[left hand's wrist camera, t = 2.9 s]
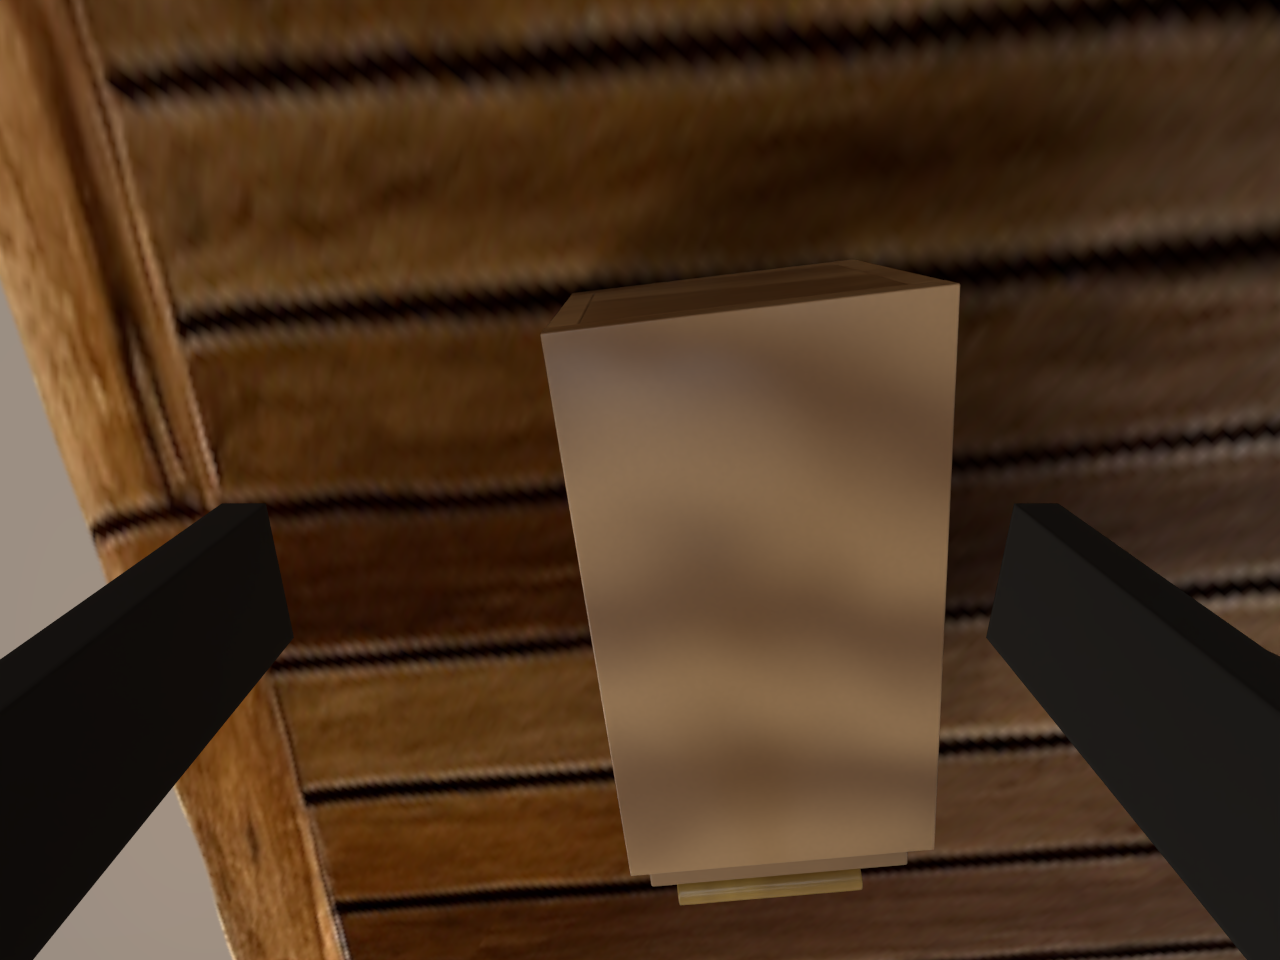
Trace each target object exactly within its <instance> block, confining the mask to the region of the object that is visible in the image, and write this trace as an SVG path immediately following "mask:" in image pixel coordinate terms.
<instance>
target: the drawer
mask: <svg viewBox="0 0 1280 960" xmlns="http://www.w3.org/2000/svg"><path fill="white" fill-rule="evenodd" d="M905 864H907V852H900V853H888V854H877V855H865V856H854V857H842V858H831V859H819V860H808V861H796V862H785V863H774V864H762V865H751V866H739V867H728V868H716V869H705V870H693V871H682V872H670V873H659V874H650V879H651V884H652V886H663V885H675V884H677V888H678V898H679V904H680V905H690V904H702V903H714V902H725V901H737V900H749V899H761V898H772V897H784V896H796V895H807V894H819V893H831V892H843V891H854V890H862V888H863V882H862V875H861V870H860V868H871V867H883V866H894V865H905Z"/></svg>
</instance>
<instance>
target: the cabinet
mask: <svg viewBox="0 0 1280 960" xmlns="http://www.w3.org/2000/svg"><path fill="white" fill-rule="evenodd" d="M959 300H960V284H959V283H955V282H951V281H947V280H940V279H936V278H932V277H927V276H923V275H919V274H914V273H910V272H906V271H901V270H897V269H893V268H889V267H884V266H880V265H876V264H871V263H867V262H863V261H859V260H855V259H850V260H842V261H833V262H825V263H817V264H809V265H800V266H792V267H784V268H776V269H767V270H759V271H751V272H743V273H734V274H726V275H718V276H710V277H701V278H693V279H685V280H677V281H668V282H660V283H652V284H644V285H635V286H627V287H619V288H611V289H602V290H594V291H586V292H578V293H573V294H572V295H571V296H570V298H569V299H568V300H567V301H566V303H565V304H564V305H563V307H562V308H561V309H560V310H559V312H558V313H557V314H556V316H555V317H554V318H553V319H552V321H551V322H550V323H549V324H548V326H547V327H546V328H545V329H544V330H543V331H542V333H541V335H540V336H541V342H542V348H543V354H544V360H545V366H546V372H547V378H548V384H549V390H550V396H551V401H552V407H553V413H554V419H555V425H556V431H557V437H558V443H559V449H560V455H561V461H562V467H563V473H564V479H565V485H566V491H567V497H568V503H569V509H570V515H571V521H572V527H573V533H574V539H575V545H576V551H577V557H578V563H579V569H580V575H581V581H582V587H583V593H584V599H585V605H586V611H587V617H588V623H589V629H590V635H591V641H592V647H593V653H594V659H595V665H596V670H597V676H598V682H599V688H600V694H601V700H602V706H603V712H604V718H605V724H606V730H607V736H608V742H609V748H610V754H611V760H612V766H613V772H614V778H615V784H616V790H617V796H618V802H619V808H620V814H621V820H622V826H623V832H624V838H625V844H626V850H627V856H628V862H629V868H630V874H631V876H636V875H647V874H659V873H670V872H682V871H693V870H705V869H716V868H728V867H739V866H751V865H762V864H774V863H785V862H796V861H808V860H819V859H831V858H842V857H854V856H865V855H877V854H888V853H900V852H911V851H923V850H933V849H934V842H935V820H936V798H937V777H938V755H939V733H940V712H941V690H942V668H943V647H944V625H945V603H946V582H947V560H948V539H949V517H950V495H951V474H952V452H953V430H954V409H955V387H956V365H957V344H958V322H959Z"/></svg>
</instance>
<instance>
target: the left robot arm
mask: <svg viewBox="0 0 1280 960" xmlns="http://www.w3.org/2000/svg"><path fill="white" fill-rule="evenodd" d="M293 638H294V637H293V632H292V627H291V622H290V617H289V613H288V608H287V603H286V598H285V594H284V589H283V584H282V579H281V574H280V570H279V565H278V560H277V555H276V551H275V546H274V541H273V536H272V531H271V527H270V522H269V517H268V512H267V508H266V504H221V505H219V506H218V507H216V508H215V509H213V510H212V511H211V512H209V513H208V514H206V515H205V516H204V517H202V518H201V519H199V520H198V521H196V522H195V523H194V524H192V525H191V526H189V527H188V528H186V529H185V530H184V531H182V532H181V533H179V534H178V535H177V536H175V537H174V538H172V539H171V540H169V541H168V542H167V543H165V544H164V545H162V546H161V547H159V548H158V549H157V550H155V551H154V552H152V553H151V554H150V555H148V556H147V557H145V558H144V559H142V560H141V561H140V562H138V563H137V564H135V565H134V566H132V567H131V568H130V569H128V570H127V571H125V572H124V573H123V574H121V575H120V576H118V577H117V578H115V579H114V580H113V581H111V582H110V583H108V584H107V585H105V586H104V587H103V588H101V589H100V590H98V591H97V592H96V593H94V594H93V595H91V596H90V597H88V598H87V599H86V600H84V601H83V602H81V603H80V604H79V605H77V606H76V607H74V608H73V609H71V610H70V611H69V612H67V613H66V614H64V615H63V616H61V617H60V618H59V619H57V620H56V621H54V622H53V623H52V624H50V625H49V626H47V627H46V628H44V629H43V630H42V631H40V632H39V633H37V634H36V635H34V636H33V637H32V638H30V639H29V640H27V641H26V642H24V643H23V644H22V645H20V646H19V647H17V648H16V649H15V650H13V651H12V652H10V653H9V654H7V655H6V656H5V657H3V658H2V659H0V960H33V959H34V958H35V957H36V955H37V954H38V953H39V952H40V950H41V949H42V948H43V947H44V945H45V944H46V943H47V942H48V941H49V939H50V938H51V937H52V936H53V934H54V933H55V932H56V931H57V929H58V928H59V927H60V926H61V924H62V923H63V922H64V921H65V920H66V918H67V917H68V916H69V915H70V913H71V912H72V911H73V910H74V908H75V907H76V906H77V905H78V903H79V902H80V901H81V900H82V899H83V897H84V896H85V895H86V894H87V892H88V891H89V890H90V889H91V887H92V886H93V885H94V884H95V882H96V881H97V880H98V879H99V877H100V876H101V875H102V874H103V873H104V871H105V870H106V869H107V868H108V866H109V865H110V864H111V863H112V861H113V860H114V859H115V858H116V856H117V855H118V854H119V853H120V852H121V850H122V849H123V848H124V847H125V845H126V844H127V843H128V842H129V840H130V839H131V838H132V837H133V835H134V834H135V833H136V832H137V831H138V829H139V828H140V827H141V826H142V824H143V823H144V822H145V821H146V819H147V818H148V817H149V816H150V814H151V813H152V812H153V811H154V810H155V808H156V807H157V806H158V805H159V803H160V802H161V801H162V800H163V798H164V797H165V796H166V795H167V793H168V792H169V791H170V790H171V789H172V787H173V786H174V785H175V784H176V782H177V781H178V780H179V779H180V777H181V776H182V775H183V774H184V772H185V771H186V770H187V769H188V768H189V766H190V765H191V764H192V763H193V761H194V760H195V759H196V758H197V756H198V755H199V754H200V753H201V751H202V750H203V749H204V748H205V746H206V745H207V744H208V743H209V742H210V740H211V739H212V738H213V737H214V735H215V734H216V733H217V732H218V730H219V729H220V728H221V727H222V725H223V724H224V723H225V722H226V721H227V719H228V718H229V717H230V716H231V714H232V713H233V712H234V711H235V709H236V708H237V707H238V706H239V704H240V703H241V702H242V701H243V700H244V698H245V697H246V696H247V695H248V693H249V692H250V691H251V690H252V688H253V687H254V686H255V685H256V683H257V682H258V681H259V680H260V679H261V677H262V676H263V675H264V674H265V672H266V671H267V670H268V669H269V667H270V666H271V665H272V664H273V662H274V661H275V660H276V659H277V657H278V656H279V655H280V654H281V653H282V651H283V650H284V649H285V648H286V646H287V645H288V644H289V643H290V641H291V640H292V639H293ZM986 638H987V639H988V640H989V641H990V643H991V644H992V645H993V646H994V648H995V649H996V650H997V651H998V653H999V654H1000V655H1001V656H1002V657H1003V659H1004V660H1005V661H1006V662H1007V664H1008V665H1009V666H1010V667H1011V669H1012V670H1013V671H1014V672H1015V674H1016V675H1017V676H1018V677H1019V679H1020V680H1021V681H1022V682H1023V683H1024V685H1025V686H1026V687H1027V688H1028V690H1029V691H1030V692H1031V693H1032V695H1033V696H1034V697H1035V698H1036V700H1037V701H1038V702H1039V703H1040V704H1041V706H1042V707H1043V708H1044V709H1045V711H1046V712H1047V713H1048V714H1049V716H1050V717H1051V718H1052V719H1053V721H1054V722H1055V723H1056V724H1057V725H1058V727H1059V728H1060V729H1061V730H1062V732H1063V733H1064V734H1065V735H1066V737H1067V738H1068V739H1069V740H1070V742H1071V743H1072V744H1073V745H1074V746H1075V748H1076V749H1077V750H1078V751H1079V753H1080V754H1081V755H1082V756H1083V758H1084V759H1085V760H1086V761H1087V763H1088V764H1089V765H1090V766H1091V768H1092V769H1093V770H1094V771H1095V772H1096V774H1097V775H1098V776H1099V777H1100V779H1101V780H1102V781H1103V782H1104V784H1105V785H1106V786H1107V787H1108V789H1109V790H1110V791H1111V792H1112V793H1113V795H1114V796H1115V797H1116V798H1117V800H1118V801H1119V802H1120V803H1121V805H1122V806H1123V807H1124V808H1125V810H1126V811H1127V812H1128V813H1129V814H1130V816H1131V817H1132V818H1133V819H1134V821H1135V822H1136V823H1137V824H1138V826H1139V827H1140V828H1141V829H1142V831H1143V832H1144V833H1145V834H1146V835H1147V837H1148V838H1149V839H1150V840H1151V842H1152V843H1153V844H1154V845H1155V847H1156V848H1157V849H1158V850H1159V852H1160V853H1161V854H1162V855H1163V857H1164V858H1165V859H1166V860H1167V861H1168V863H1169V864H1170V865H1171V866H1172V868H1173V869H1174V870H1175V871H1176V873H1177V874H1178V875H1179V876H1180V878H1181V879H1182V880H1183V881H1184V882H1185V884H1186V885H1187V886H1188V887H1189V889H1190V890H1191V891H1192V892H1193V894H1194V895H1195V896H1196V897H1197V899H1198V900H1199V901H1200V902H1201V903H1202V905H1203V906H1204V907H1205V908H1206V910H1207V911H1208V912H1209V913H1210V915H1211V916H1212V917H1213V918H1214V920H1215V921H1216V922H1217V923H1218V924H1219V926H1220V927H1221V928H1222V929H1223V931H1224V932H1225V933H1226V934H1227V936H1228V937H1229V938H1230V939H1231V941H1232V942H1233V943H1234V944H1235V946H1236V947H1237V948H1238V949H1239V950H1240V952H1241V953H1242V954H1243V955H1244V957H1245V958H1246V959H1247V960H1280V656H1278V655H1276V654H1273V653H1271V652H1269V651H1267V650H1265V649H1264V648H1263V647H1261V646H1260V645H1258V644H1257V643H1256V642H1254V641H1253V640H1251V639H1250V638H1248V637H1247V636H1246V635H1244V634H1243V633H1241V632H1240V631H1238V630H1237V629H1236V628H1234V627H1233V626H1231V625H1230V624H1229V623H1227V622H1226V621H1224V620H1223V619H1221V618H1220V617H1219V616H1217V615H1216V614H1214V613H1213V612H1211V611H1210V610H1209V609H1207V608H1206V607H1204V606H1203V605H1202V604H1200V603H1199V602H1197V601H1196V600H1194V599H1193V598H1192V597H1190V596H1189V595H1187V594H1186V593H1184V592H1183V591H1182V590H1180V589H1179V588H1177V587H1176V586H1175V585H1173V584H1172V583H1170V582H1169V581H1167V580H1166V579H1165V578H1163V577H1162V576H1160V575H1159V574H1157V573H1156V572H1155V571H1153V570H1152V569H1150V568H1149V567H1148V566H1146V565H1145V564H1143V563H1142V562H1140V561H1139V560H1138V559H1136V558H1135V557H1133V556H1132V555H1130V554H1129V553H1128V552H1126V551H1125V550H1123V549H1122V548H1121V547H1119V546H1118V545H1116V544H1115V543H1113V542H1112V541H1111V540H1109V539H1108V538H1106V537H1105V536H1103V535H1102V534H1101V533H1099V532H1098V531H1096V530H1095V529H1094V528H1092V527H1091V526H1089V525H1088V524H1086V523H1085V522H1084V521H1082V520H1081V519H1079V518H1078V517H1076V516H1075V515H1074V514H1072V513H1071V512H1069V511H1068V510H1067V509H1065V508H1064V507H1062V506H1061V505H1059V504H1014V508H1013V512H1012V517H1011V522H1010V527H1009V531H1008V536H1007V541H1006V546H1005V551H1004V555H1003V560H1002V565H1001V570H1000V574H999V579H998V584H997V589H996V594H995V598H994V603H993V608H992V613H991V617H990V622H989V627H988V632H987V637H986Z"/></svg>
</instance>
